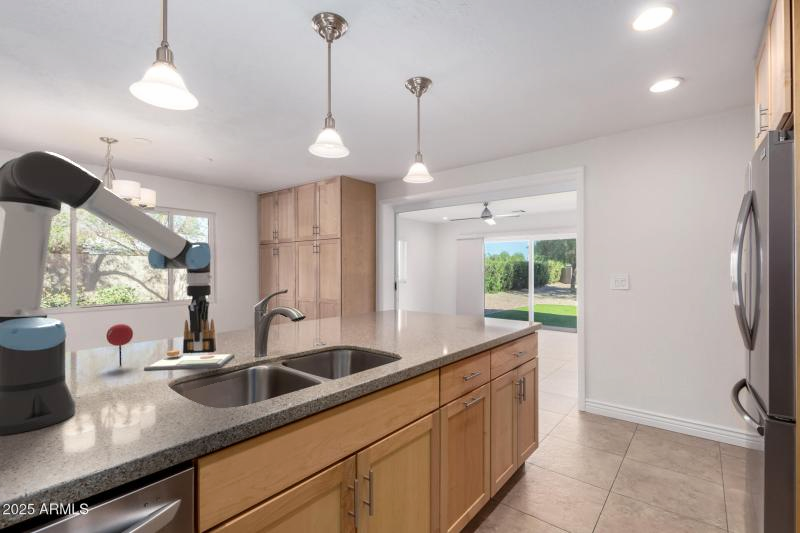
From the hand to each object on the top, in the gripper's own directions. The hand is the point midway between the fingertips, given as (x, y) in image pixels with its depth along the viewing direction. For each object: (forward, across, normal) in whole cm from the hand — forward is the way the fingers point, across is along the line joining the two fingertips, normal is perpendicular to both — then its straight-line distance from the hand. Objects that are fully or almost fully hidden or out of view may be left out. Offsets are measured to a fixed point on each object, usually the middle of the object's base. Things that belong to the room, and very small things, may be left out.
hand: (199, 349), depth 135 cm
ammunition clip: (+1, 0, 0) cm, 1 cm away
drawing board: (+6, +4, +4) cm, 8 cm away
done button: (+3, +8, +13) cm, 16 cm away
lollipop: (+6, +4, +29) cm, 29 cm away
